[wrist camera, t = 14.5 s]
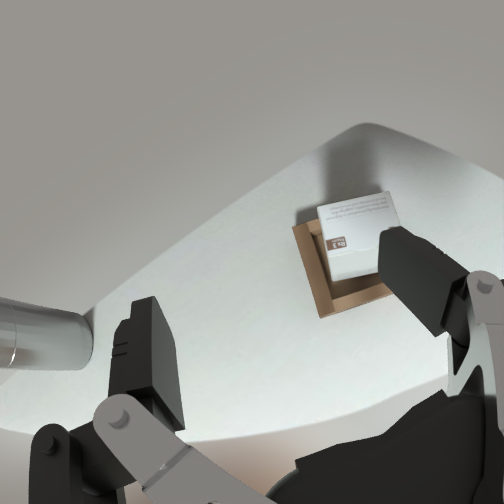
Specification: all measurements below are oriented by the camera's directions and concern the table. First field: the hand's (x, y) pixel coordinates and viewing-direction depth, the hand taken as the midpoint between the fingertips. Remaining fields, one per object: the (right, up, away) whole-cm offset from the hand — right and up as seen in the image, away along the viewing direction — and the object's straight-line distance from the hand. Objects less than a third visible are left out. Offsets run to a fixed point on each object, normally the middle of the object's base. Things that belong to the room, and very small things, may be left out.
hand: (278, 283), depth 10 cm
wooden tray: (+11, 0, +23) cm, 25 cm away
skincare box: (+10, 0, +22) cm, 25 cm away
